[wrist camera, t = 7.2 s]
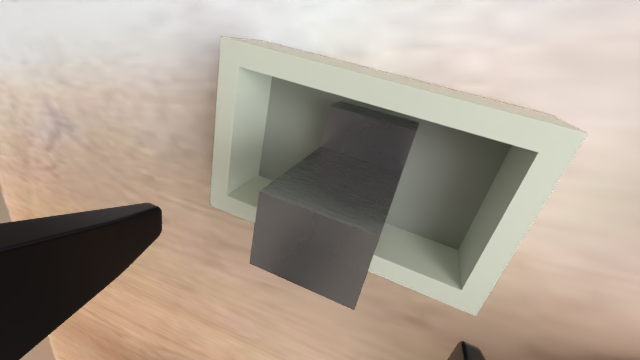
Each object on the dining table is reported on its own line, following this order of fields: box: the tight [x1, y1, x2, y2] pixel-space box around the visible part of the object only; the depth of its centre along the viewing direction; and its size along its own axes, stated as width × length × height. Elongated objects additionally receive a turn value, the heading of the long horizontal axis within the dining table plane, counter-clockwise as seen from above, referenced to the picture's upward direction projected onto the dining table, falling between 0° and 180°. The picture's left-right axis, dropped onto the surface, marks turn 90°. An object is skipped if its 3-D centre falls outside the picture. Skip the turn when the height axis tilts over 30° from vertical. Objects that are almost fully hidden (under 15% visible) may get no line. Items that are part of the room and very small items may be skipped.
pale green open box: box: [210, 36, 588, 316], centre depth 15 cm, size 8×14×4 cm, turn 77°
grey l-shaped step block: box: [250, 101, 419, 310], centre depth 13 cm, size 5×4×8 cm
